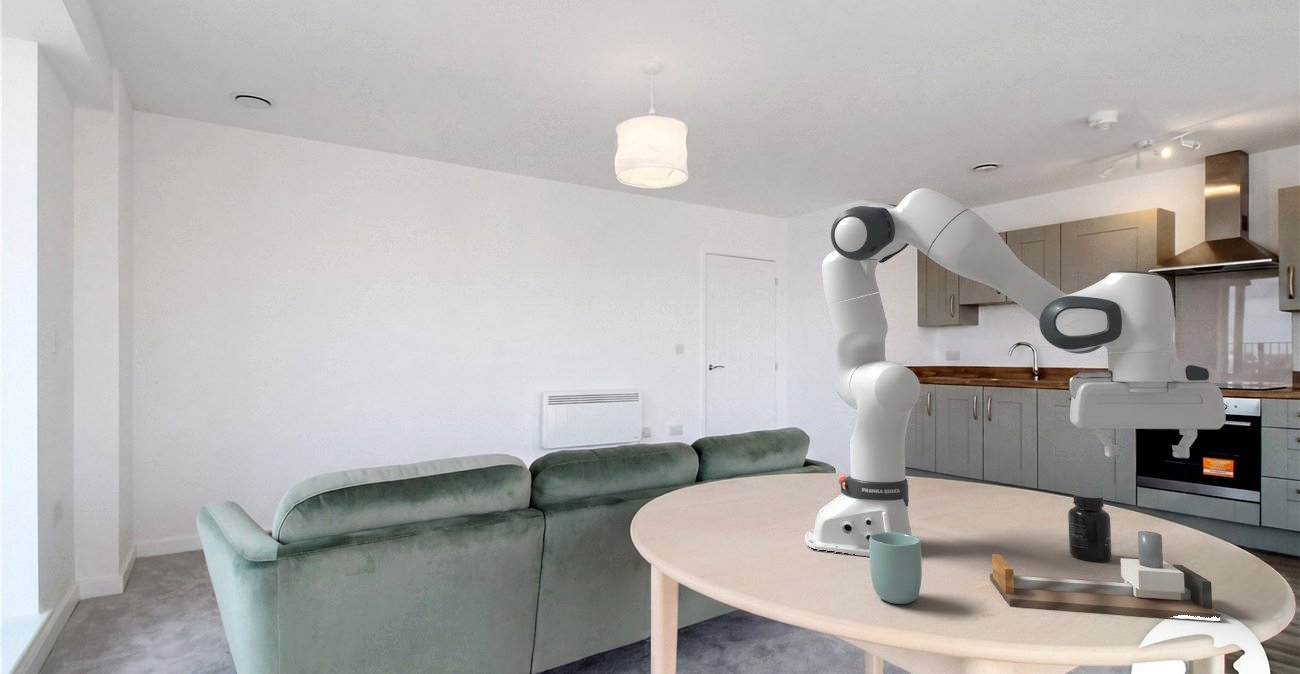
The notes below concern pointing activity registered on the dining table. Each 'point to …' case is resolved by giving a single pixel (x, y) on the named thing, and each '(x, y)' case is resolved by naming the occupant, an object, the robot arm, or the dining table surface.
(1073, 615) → the dining table surface
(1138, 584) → the slider
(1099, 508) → the supplement bottle
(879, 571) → the cup
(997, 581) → the rail track
